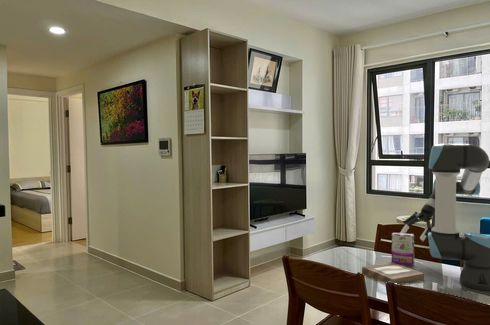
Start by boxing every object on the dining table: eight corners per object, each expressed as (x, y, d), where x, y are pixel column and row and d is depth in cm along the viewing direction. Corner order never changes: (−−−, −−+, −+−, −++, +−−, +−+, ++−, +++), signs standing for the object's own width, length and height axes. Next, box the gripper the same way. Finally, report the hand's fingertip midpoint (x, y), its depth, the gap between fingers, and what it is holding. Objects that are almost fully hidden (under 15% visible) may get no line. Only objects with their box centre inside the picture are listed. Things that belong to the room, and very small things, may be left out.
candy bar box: (414, 263, 199) (414, 233, 199) (413, 266, 195) (414, 235, 194) (392, 261, 204) (392, 231, 204) (391, 263, 200) (391, 233, 200)
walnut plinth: (424, 279, 174) (424, 273, 174) (392, 285, 166) (392, 278, 166) (391, 267, 192) (391, 261, 192) (362, 272, 184) (362, 266, 184)
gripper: (454, 216, 198) (434, 246, 193) (416, 209, 221) (397, 236, 215) (447, 207, 196) (427, 237, 190) (409, 201, 219) (390, 228, 213)
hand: (411, 237), depth 203 cm, fingers open, 13 cm apart
